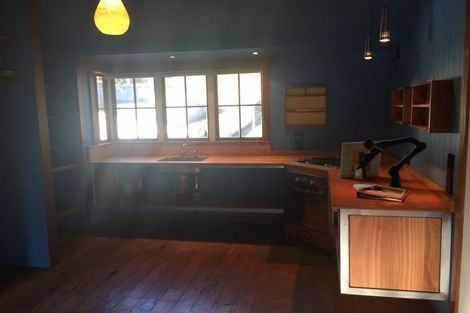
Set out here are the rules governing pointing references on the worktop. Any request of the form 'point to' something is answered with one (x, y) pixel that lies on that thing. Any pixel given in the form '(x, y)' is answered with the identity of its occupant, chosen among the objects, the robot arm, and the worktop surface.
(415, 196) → the worktop surface
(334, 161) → the worktop surface
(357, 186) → the display block
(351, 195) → the worktop surface
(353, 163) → the picture frame
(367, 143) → the robot arm
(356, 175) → the brown box on plinth
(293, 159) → the worktop surface
